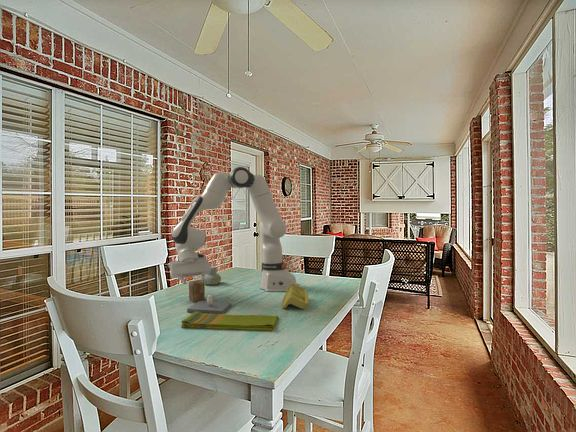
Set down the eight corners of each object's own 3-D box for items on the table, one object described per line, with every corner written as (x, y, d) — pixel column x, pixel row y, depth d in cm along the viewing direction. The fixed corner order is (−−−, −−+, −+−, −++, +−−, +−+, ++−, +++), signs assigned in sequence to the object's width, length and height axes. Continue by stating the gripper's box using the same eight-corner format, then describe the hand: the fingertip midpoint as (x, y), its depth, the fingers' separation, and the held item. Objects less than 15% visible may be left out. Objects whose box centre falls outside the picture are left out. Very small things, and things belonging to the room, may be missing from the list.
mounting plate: (231, 305, 155) (231, 292, 155) (222, 314, 143) (221, 299, 143) (199, 304, 158) (199, 290, 158) (187, 312, 146) (186, 297, 146)
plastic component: (308, 305, 148) (288, 295, 148) (301, 319, 149) (281, 309, 149) (307, 290, 168) (289, 281, 168) (301, 302, 169) (283, 294, 169)
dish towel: (195, 315, 143) (195, 308, 143) (278, 318, 139) (278, 311, 139) (180, 329, 128) (179, 321, 128) (272, 333, 124) (272, 324, 124)
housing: (200, 297, 168) (200, 279, 168) (204, 300, 164) (204, 282, 163) (189, 299, 165) (188, 281, 165) (192, 302, 160) (192, 283, 160)
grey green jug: (215, 281, 204) (215, 264, 203) (223, 283, 198) (223, 266, 198) (199, 284, 196) (199, 267, 196) (207, 286, 190) (207, 269, 190)
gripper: (168, 258, 167) (174, 281, 159) (208, 254, 178) (215, 276, 171) (166, 265, 171) (171, 288, 163) (205, 261, 182) (212, 283, 174)
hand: (194, 282), depth 167 cm, fingers open, 8 cm apart
